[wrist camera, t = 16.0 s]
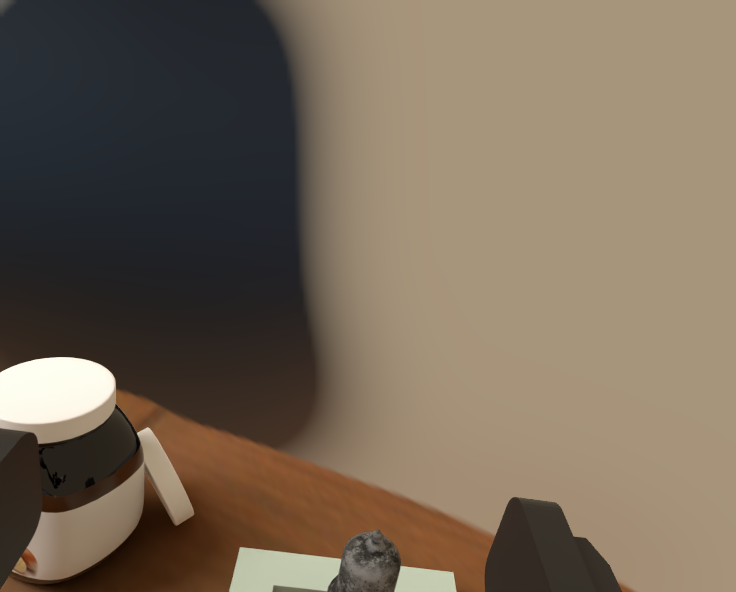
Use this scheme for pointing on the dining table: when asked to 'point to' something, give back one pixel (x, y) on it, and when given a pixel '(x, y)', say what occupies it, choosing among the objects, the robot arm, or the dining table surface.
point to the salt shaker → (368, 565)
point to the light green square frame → (317, 574)
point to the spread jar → (83, 465)
